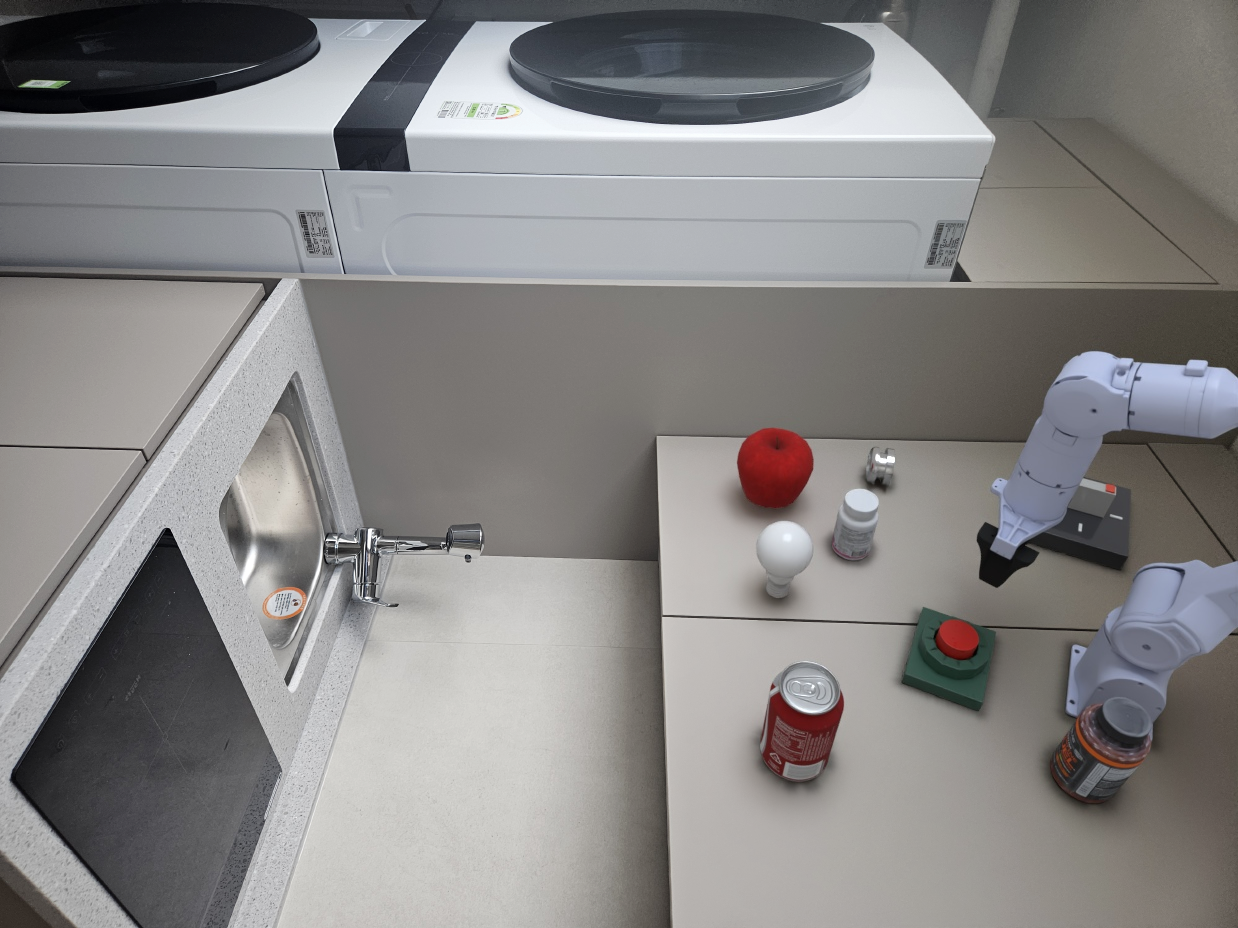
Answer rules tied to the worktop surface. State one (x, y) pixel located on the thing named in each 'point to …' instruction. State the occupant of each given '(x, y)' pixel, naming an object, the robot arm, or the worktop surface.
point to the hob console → (1093, 533)
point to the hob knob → (1093, 497)
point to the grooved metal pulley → (880, 465)
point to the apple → (774, 467)
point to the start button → (957, 639)
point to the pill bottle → (855, 524)
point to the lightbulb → (783, 554)
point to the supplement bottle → (1102, 749)
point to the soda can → (801, 721)
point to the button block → (948, 663)
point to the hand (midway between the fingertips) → (1002, 560)
